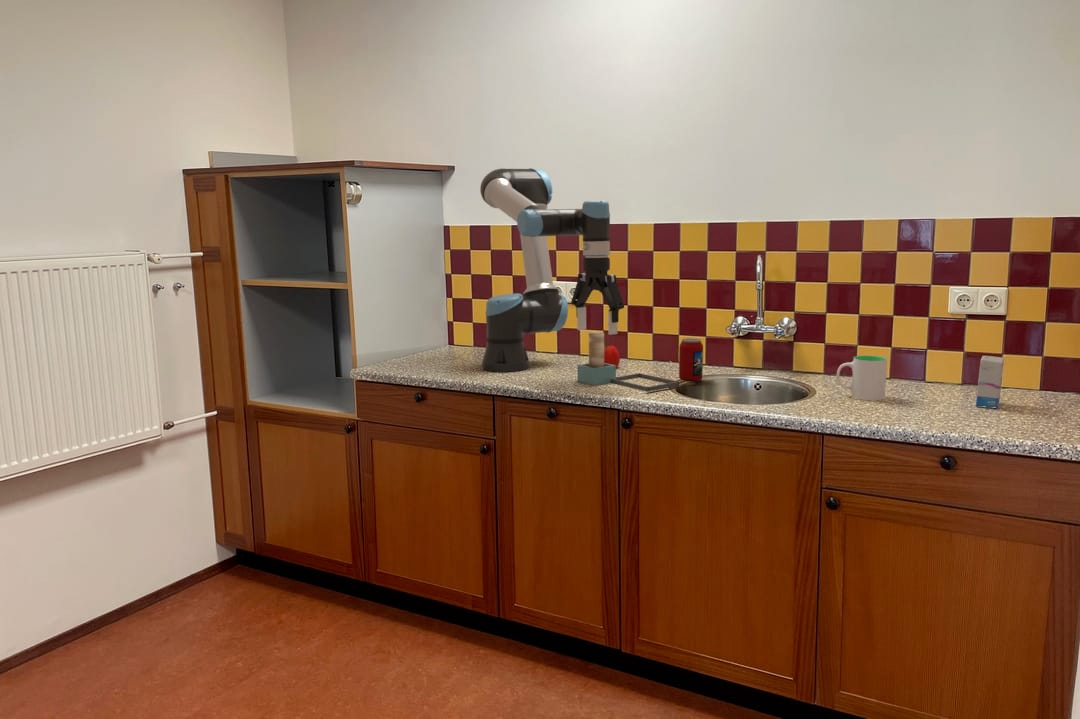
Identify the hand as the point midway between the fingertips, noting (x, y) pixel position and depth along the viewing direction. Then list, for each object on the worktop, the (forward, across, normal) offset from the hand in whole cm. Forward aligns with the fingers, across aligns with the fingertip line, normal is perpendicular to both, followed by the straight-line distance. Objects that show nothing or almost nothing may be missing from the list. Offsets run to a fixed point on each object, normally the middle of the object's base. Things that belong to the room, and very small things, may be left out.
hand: (597, 332), depth 229 cm
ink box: (+16, +82, +58) cm, 101 cm away
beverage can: (+16, +14, +24) cm, 32 cm away
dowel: (+14, 0, 0) cm, 14 cm away
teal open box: (+15, 0, 0) cm, 15 cm away
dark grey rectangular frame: (+15, +10, +8) cm, 20 cm away
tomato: (+15, -16, +16) cm, 27 cm away
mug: (+16, +56, +42) cm, 72 cm away
